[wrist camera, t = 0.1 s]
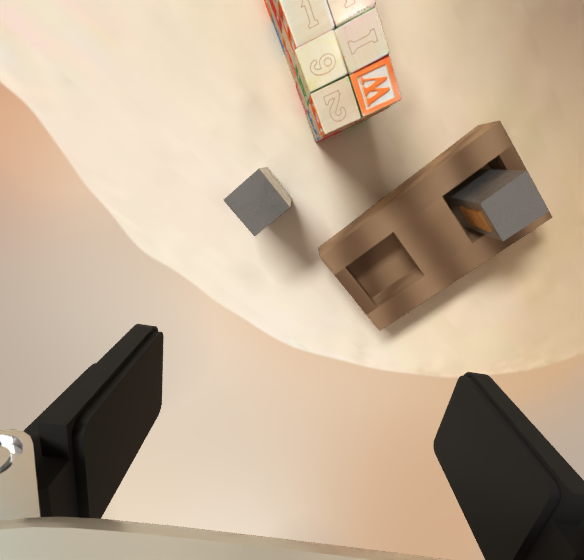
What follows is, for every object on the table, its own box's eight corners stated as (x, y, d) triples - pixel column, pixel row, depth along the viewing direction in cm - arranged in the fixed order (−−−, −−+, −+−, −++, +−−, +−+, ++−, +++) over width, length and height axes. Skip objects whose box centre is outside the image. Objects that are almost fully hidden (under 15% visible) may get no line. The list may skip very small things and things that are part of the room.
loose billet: (267, 167, 37) (259, 168, 30) (291, 198, 38) (290, 207, 31) (236, 193, 38) (221, 201, 31) (261, 223, 40) (253, 237, 32)
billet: (479, 168, 36) (526, 170, 28) (498, 201, 37) (548, 211, 30) (441, 196, 37) (478, 205, 30) (461, 226, 38) (501, 242, 31)
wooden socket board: (478, 125, 35) (499, 120, 32) (527, 211, 38) (552, 217, 35) (318, 248, 40) (319, 257, 37) (372, 316, 43) (379, 330, 40)
